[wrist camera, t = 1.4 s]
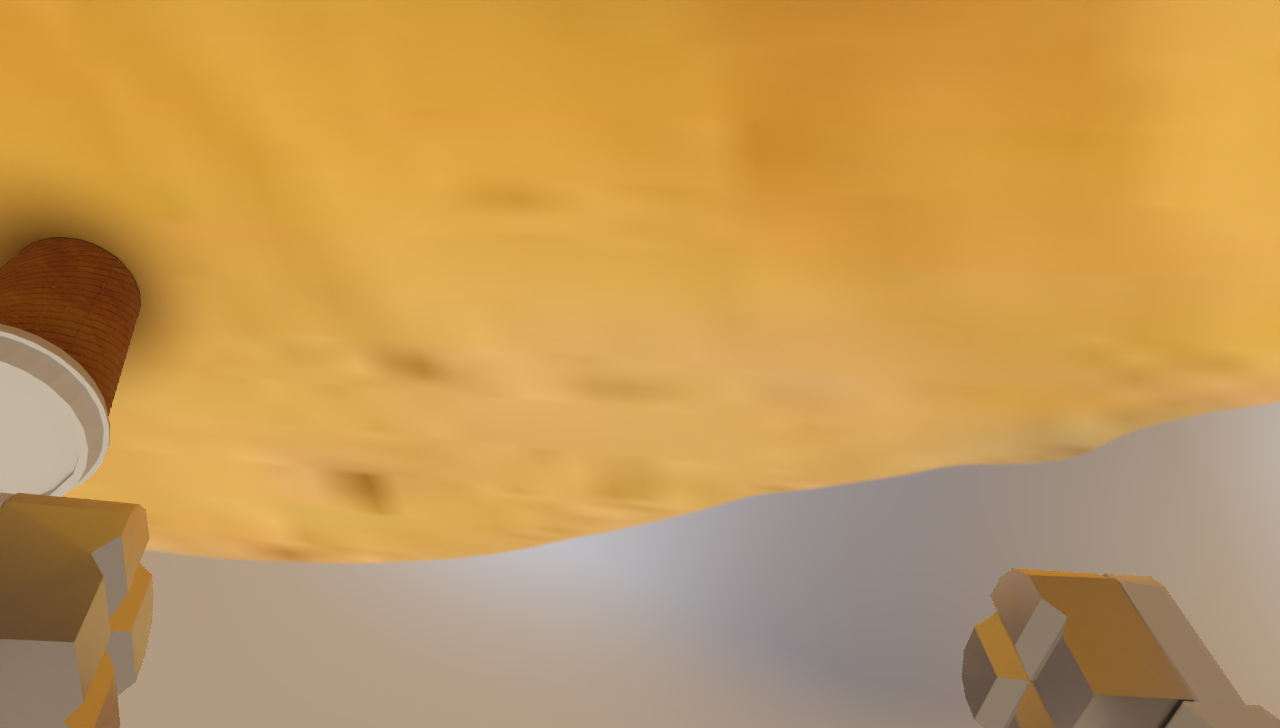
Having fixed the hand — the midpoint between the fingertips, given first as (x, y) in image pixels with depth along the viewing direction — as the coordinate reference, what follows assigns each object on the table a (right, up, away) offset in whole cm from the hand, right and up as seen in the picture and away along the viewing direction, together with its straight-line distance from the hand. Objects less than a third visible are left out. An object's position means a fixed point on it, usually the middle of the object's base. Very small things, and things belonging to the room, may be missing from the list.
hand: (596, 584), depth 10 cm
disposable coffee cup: (-29, +6, +45) cm, 54 cm away
